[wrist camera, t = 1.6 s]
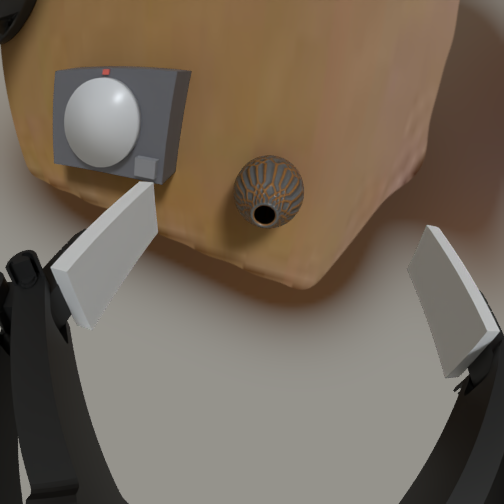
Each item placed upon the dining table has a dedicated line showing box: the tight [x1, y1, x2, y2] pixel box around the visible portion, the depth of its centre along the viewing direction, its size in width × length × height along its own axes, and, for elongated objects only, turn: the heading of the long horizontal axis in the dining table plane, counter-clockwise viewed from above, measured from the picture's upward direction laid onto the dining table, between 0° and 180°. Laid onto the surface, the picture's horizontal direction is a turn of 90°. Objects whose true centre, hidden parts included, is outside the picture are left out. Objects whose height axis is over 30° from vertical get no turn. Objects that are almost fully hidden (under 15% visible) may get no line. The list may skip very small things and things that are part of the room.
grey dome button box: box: [53, 66, 191, 185], centre depth 25 cm, size 16×12×5 cm
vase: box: [234, 155, 304, 228], centre depth 27 cm, size 7×7×9 cm
